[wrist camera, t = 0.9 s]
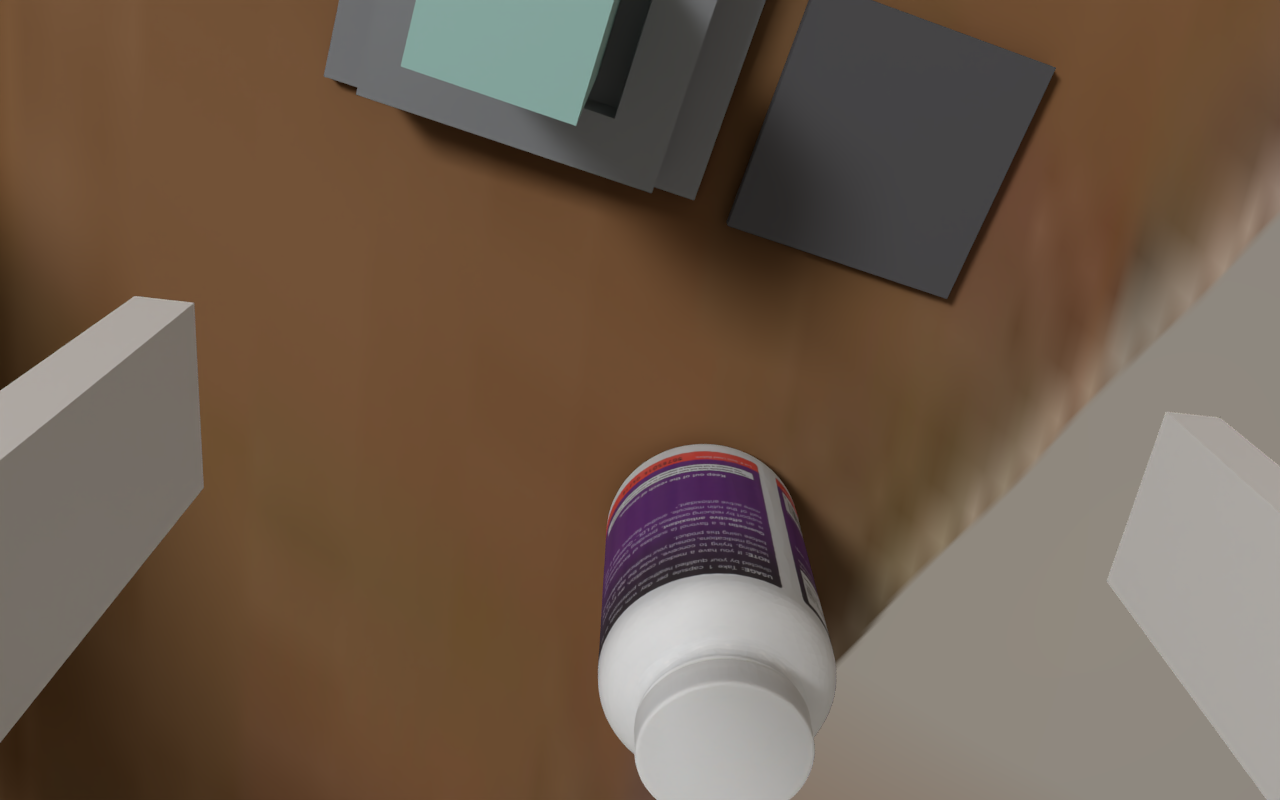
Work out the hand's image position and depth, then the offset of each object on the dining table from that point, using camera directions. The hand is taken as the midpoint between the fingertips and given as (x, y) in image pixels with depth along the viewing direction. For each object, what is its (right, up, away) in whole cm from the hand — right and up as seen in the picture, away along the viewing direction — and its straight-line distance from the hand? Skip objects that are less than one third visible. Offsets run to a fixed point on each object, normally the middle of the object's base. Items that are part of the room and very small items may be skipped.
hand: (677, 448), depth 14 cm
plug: (-3, +15, +22) cm, 27 cm away
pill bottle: (+2, -4, +31) cm, 31 cm away
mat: (+9, +10, +24) cm, 28 cm away
